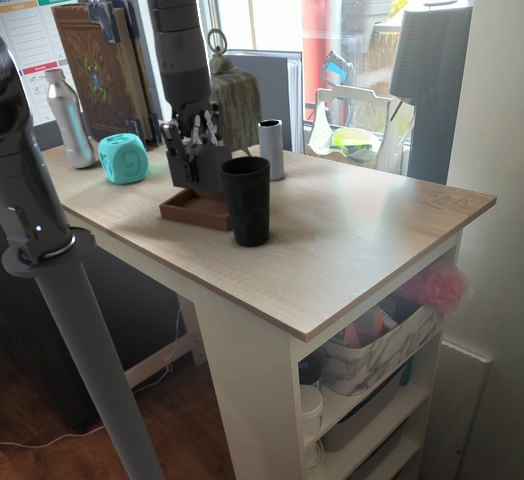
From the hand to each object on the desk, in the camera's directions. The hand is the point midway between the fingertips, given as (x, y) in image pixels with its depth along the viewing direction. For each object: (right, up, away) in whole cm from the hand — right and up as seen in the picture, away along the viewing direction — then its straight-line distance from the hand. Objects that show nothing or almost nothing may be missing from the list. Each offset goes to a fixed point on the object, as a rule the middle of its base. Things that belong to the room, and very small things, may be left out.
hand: (203, 176), depth 82 cm
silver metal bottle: (-32, +13, +31) cm, 46 cm away
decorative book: (-26, +24, +42) cm, 55 cm away
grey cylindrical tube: (+13, +5, +15) cm, 21 cm away
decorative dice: (-19, +8, +22) cm, 30 cm away
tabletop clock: (+3, +11, +24) cm, 26 cm away
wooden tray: (0, -5, +5) cm, 7 cm away
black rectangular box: (0, -1, +1) cm, 2 cm away
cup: (+9, -12, -4) cm, 15 cm away
